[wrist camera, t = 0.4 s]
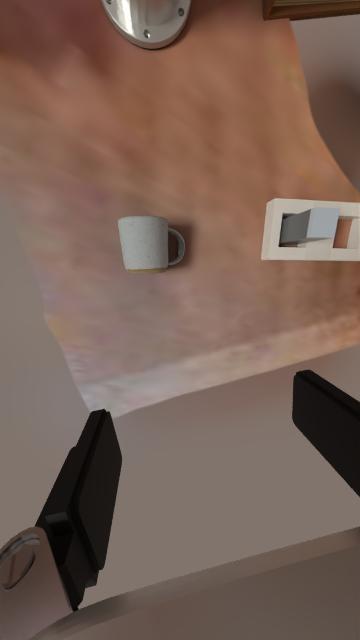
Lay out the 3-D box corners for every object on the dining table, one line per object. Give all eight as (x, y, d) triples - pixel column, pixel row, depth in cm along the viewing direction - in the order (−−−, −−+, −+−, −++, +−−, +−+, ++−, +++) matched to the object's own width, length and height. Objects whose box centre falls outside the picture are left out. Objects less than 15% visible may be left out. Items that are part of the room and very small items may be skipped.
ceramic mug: (127, 273, 36) (122, 275, 28) (121, 225, 33) (113, 213, 26) (184, 270, 37) (193, 270, 30) (182, 223, 35) (190, 211, 27)
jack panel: (267, 202, 35) (275, 198, 33) (362, 208, 38) (376, 203, 36) (260, 260, 38) (268, 259, 36) (350, 261, 40) (363, 260, 38)
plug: (277, 221, 37) (315, 207, 28) (296, 222, 37) (340, 208, 28) (274, 244, 38) (310, 237, 29) (293, 244, 38) (334, 237, 29)
